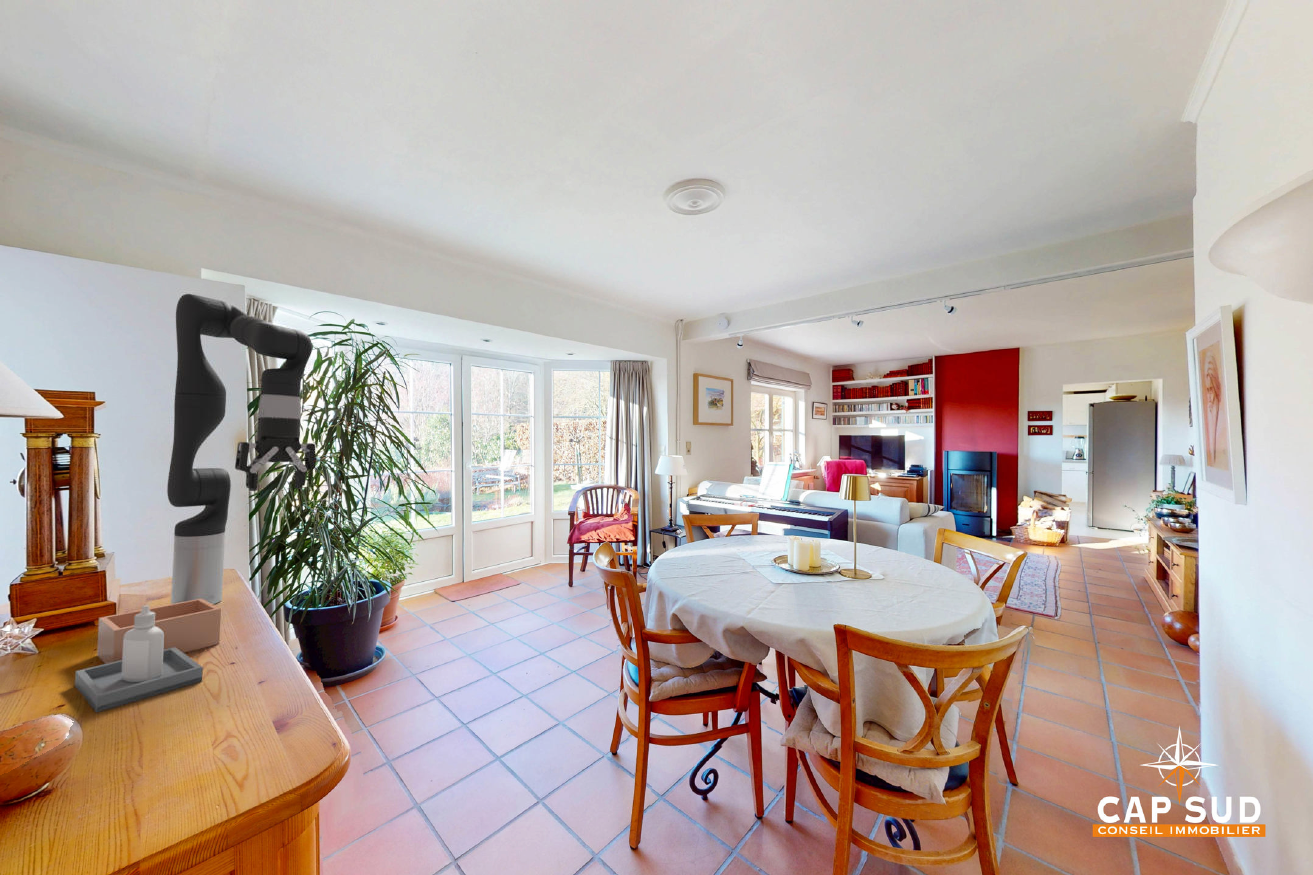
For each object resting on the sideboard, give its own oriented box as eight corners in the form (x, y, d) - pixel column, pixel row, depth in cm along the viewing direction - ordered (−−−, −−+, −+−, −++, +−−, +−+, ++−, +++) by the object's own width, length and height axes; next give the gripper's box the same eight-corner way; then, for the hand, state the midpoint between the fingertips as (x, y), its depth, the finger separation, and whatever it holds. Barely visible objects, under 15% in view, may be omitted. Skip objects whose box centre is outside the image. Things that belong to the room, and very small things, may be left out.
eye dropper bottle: (125, 688, 79) (129, 613, 79) (120, 677, 82) (123, 605, 82) (163, 678, 82) (167, 606, 83) (156, 668, 86) (160, 599, 86)
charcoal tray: (74, 685, 81) (75, 671, 81) (174, 659, 91) (175, 646, 91) (96, 712, 73) (97, 696, 73) (201, 681, 83) (202, 666, 84)
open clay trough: (97, 655, 92) (99, 617, 92) (199, 631, 104) (201, 598, 104) (112, 670, 86) (114, 630, 86) (219, 643, 98) (220, 608, 99)
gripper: (307, 418, 117) (304, 486, 117) (232, 414, 105) (229, 490, 105) (323, 418, 113) (320, 489, 113) (247, 414, 101) (243, 492, 101)
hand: (276, 489), depth 109 cm, fingers open, 8 cm apart
